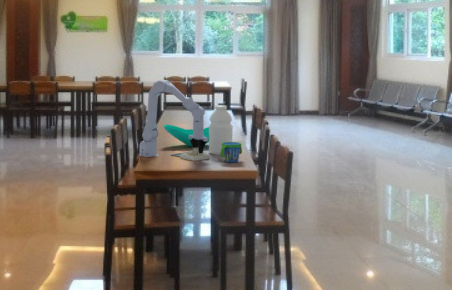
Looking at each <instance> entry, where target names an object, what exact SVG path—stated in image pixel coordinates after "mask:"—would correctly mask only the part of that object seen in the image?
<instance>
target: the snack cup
mask: <svg viewBox="0 0 452 290" xmlns="http://www.w3.org/2000/svg"><path fill="white" fill-rule="evenodd" d="M241 154H243V147H242V143H241V142H238V141H232V142H224V143H222V149H221V154H220V157H221V158H223V159H224V162H226V163H229V164H230V163H238V162H239V158H240V155H241Z"/></svg>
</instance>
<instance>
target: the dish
mask: <svg viewBox="0 0 452 290" xmlns="http://www.w3.org/2000/svg"><path fill="white" fill-rule="evenodd" d="M181 153H182V154H181V157H180V159H181V160H186V161H192V162H195V161H203V160H209V159H210V153H207V154H205V153H206V152H203V155H198V156H191V155H187V153H184V152H181Z"/></svg>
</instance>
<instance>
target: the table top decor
mask: <svg viewBox="0 0 452 290" xmlns="http://www.w3.org/2000/svg"><path fill="white" fill-rule="evenodd" d="M163 128H164V130H165V131H166V132H167V133H169V134H170V135H171V136H172V137H174V138H175V139H177V140H178V141H180V142H181V143H183V144H184V145H186V146H187V147H191V148H192V144H191V142H190V140H192V139H189V135H193V128H191V129H189V128H187V129H185V128H183V127H180V126H176V125H173V124H164V125H163ZM203 136H205V137H207V138H208V141H207V142H206V144H209V126H208V127H204V131H203Z"/></svg>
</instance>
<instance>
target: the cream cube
mask: <svg viewBox="0 0 452 290" xmlns="http://www.w3.org/2000/svg"><path fill="white" fill-rule="evenodd" d="M186 152H187V155H191V156H197V152H195V151H192V150H190V151H186Z"/></svg>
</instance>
